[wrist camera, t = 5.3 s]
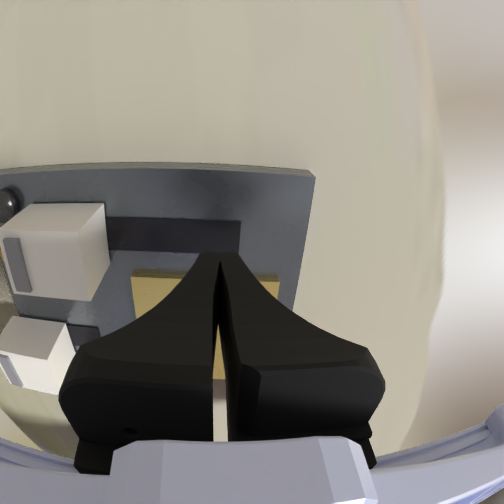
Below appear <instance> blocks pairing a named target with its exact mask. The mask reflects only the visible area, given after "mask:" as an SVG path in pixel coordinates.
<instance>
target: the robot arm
mask: <svg viewBox="0 0 504 504" xmlns="http://www.w3.org/2000/svg"><path fill="white" fill-rule="evenodd" d="M218 327H219V335H220V342H221V350H222V357H223V364H224V371H225V381H226V402H227V428H228V442H213V385H212V384H213V369H214V359H215V349H216V340H217V331H218ZM384 392H385V380H384V378H383V376H382V374H381V372H380V370H379V367H378V365H377V363H376V361H375V360H374V358H373V356H372V355H371V353H370V352H369V350H368V348H366V347H363V346H361V345H358V344H355V343H352V342H350V341H347V340H344V339H342V338H339V337H337V336H335V335H333V334H330V333H328V332H326V331H324V330H322V329H320V328H318V327H316V326H315V325H313V324H311V323H309V322H308V321H306V320H305V319H303V318H301V317H300V316H298V315H297V314H295V313H294V312H292V311H291V310H290V309H288V308H287V307H286V306H284V305H283V304H282V303H281V302H279V301H278V300H277V299H276V298H275V297H274V296H273V295H271V294H270V293H269V292H268V291H267V290H266V288H265V287H264V286H263V285H262V284H261V283H260V282H259V281H258V279H257V278H256V277H255V276H254V275H253V273H252V272H251V271H250V269H249V268H248V267H247V265H246V264H245V262H244V261H243V259H242V258H241V256H240V255H239V254H238V253H228V252H201V253H200V254H199V255H198V257H197V259H196V261H195V262H194V264H193V265H192V267H191V268H190V270H189V271H188V272H187V273H186V275H185V276H184V277H183V279H182V280H181V281H180V282H179V283H178V284H177V285H176V286H175V288H174V289H173V290H172V291H171V292H170V293H169V294H168V295H167V296H166V297H165V298H164V299H163V300H162V301H160V302H159V303H158V304H157V305H156V306H155V307H153V308H152V309H151V310H149V311H148V312H146V313H145V314H143V315H142V316H140V317H139V318H137V319H136V320H134V321H133V322H131V323H129V324H127V325H125V326H124V327H122V328H120V329H118V330H116V331H114V332H112V333H110V334H107V335H105V336H102V337H100V338H97V339H95V340H92V341H90V342H87V343H85V344H82V345H80V346H79V348H78V350H77V352H76V354H75V355H74V357H73V359H72V361H71V363H70V365H69V367H68V370H67V372H66V375H65V377H64V380H63V382H62V385H61V388H60V390H59V400H58V401H59V403H60V406H61V408H62V411H63V412H64V414H65V416H66V417H67V419H68V421H69V422H70V424H71V426H72V427H73V429H74V431H75V432H76V434H77V435H78V437H79V438H80V439H79V443H78V447H77V451H76V455H75V459H71V458H66V457H62V456H58V455H54V454H50V453H47V452H43V451H39V450H36V449H33V448H29V447H26V446H23V445H20V444H17V443H14V442H11V441H8V440H5V439H2V438H0V504H477V503H479V502H481V501H483V500H484V499H486V498H488V497H489V496H491V495H493V494H494V493H496V492H497V491H499V490H500V489H502V488H504V403H502V404H500V405H499V406H497V407H496V408H495V409H494V410H493V411H492V412H491V413H490V414H489V416H488V417H487V418H486V420H485V422H482V423H480V424H478V425H475V426H473V427H470V428H468V429H465V430H463V431H460V432H457V433H455V434H452V435H449V436H446V437H444V438H441V439H438V440H435V441H432V442H429V443H426V444H423V445H419V446H416V447H413V448H409V449H405V450H402V451H398V452H394V453H391V454H387V455H383V456H378V457H375V455H374V452H373V450H372V447H371V444H370V441H369V438H371V436H372V430H371V428H370V425H369V423H368V421H369V420H370V418H371V416H372V415H373V413H374V411H375V410H376V408H377V406H378V405H379V403H380V401H381V399H382V397H383V394H384Z"/></svg>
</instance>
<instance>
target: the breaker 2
mask: <svg viewBox="0 0 504 504" xmlns="http://www.w3.org/2000/svg"><path fill="white" fill-rule="evenodd" d="M75 354H76V353H75V350H74V347H73V345H72V342H71V339H70V336H69V332H68V329H67V326H66V323H62V322H54V321H46V320H39V319H32V318H25V317H18V316H12V317H11V319H10V320H9V321H8V323H7V324H6V326H5V327H4V329H3V331H2V332H1V334H0V366H1V368H2V370H3V372H4V374H5V375H6V377H7V379H8V381H9V382H10V384H12V385H16V386H20V387H24V388H28V389H32V390H36V391H41V392H45V393H50V394H55V395H59V390H60V388H61V385H62V382H63V380H64V377H65V375H66V372H67V370H68V367H69V365H70V363H71V361H72V359H73V357H74V355H75Z"/></svg>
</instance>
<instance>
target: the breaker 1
mask: <svg viewBox="0 0 504 504" xmlns="http://www.w3.org/2000/svg"><path fill="white" fill-rule="evenodd" d="M0 247H1V251H2V255H3V259H4V263H5V266H6V270H7V273H8V277H9V280H10V283H11V287H12V290H13V293H14V294H21V295H30V296H39V297H49V298H59V299H69V300H80V301H91V300H92V298H93V296H94V294H95V292H96V290H97V288H98V286H99V284H100V282H101V280H102V278H103V276H104V275H105V273H106V271H107V269H108V267H109V265H110V258H109V250H108V242H107V233H106V223H105V212H104V203H56V204H30V205H28V206H27V207H26V208H24V209H23V210H22V211H20V212H19V213H18V214H17V215H15V216H14V217H13V218H12V219H10V220H9V221H8V222H7V223H5V224H4V225H3V226H2V227H0Z"/></svg>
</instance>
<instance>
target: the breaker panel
mask: <svg viewBox="0 0 504 504" xmlns="http://www.w3.org/2000/svg"><path fill="white" fill-rule="evenodd" d="M315 178H316V177H315V176H314V175H313V174H312V173H311V172H310V171H308V170H298V169H287V168H275V167H261V166H246V165H229V164H206V163H169V162H120V163H84V164H63V165H47V166H33V167H21V168H10V169H1V170H0V227H2V226H3V225H4V224H5V223H7V222H8V221H9V220H10V219H12V218H13V217H14V216H15V215H17V214H18V213H19V212H20V211H22V210H23V209H24V208H26V207H27V206H28V205H30V204H56V203H104V212H105V223H106V233H107V242H108V250H109V258H110V265H109V267H108V269H107V271H106V273H105V275H104V276H103V278H102V280H101V282H100V284H99V286H98V288H97V290H96V292H95V294H94V296H93V298H92V300H91V301H80V300H69V299H59V298H49V297H39V296H30V295H21V294H14V293H13V290H12V287H11V283H10V280H9V277H8V273H7V270H6V266H5V263H4V259H3V255H2V251H1V247H0V256H1V258H2V262H3V265H4V269H5V272H6V276H7V279H8V282H9V286H10V289H11V292H12V295H13V298H14V301H15V304H16V307H17V310H18V312H19V315H20V317H25V318H32V319H39V320H46V321H54V322H62V323H66V326H67V329H68V332H69V336H70V339H71V342H72V345H73V347H74V350H75V353H76V352H77V350H78V348H79V346H80V345H82V344H85V343H87V342H90V341H92V340H95V339H97V338H100V337H102V336H105V335H107V334H110V333H112V332H114V331H116V330H118V329H120V328H122V327H124V326H125V325H127V324H129V323H131V322H133V321H134V320H136V319H137V318H139V317H140V316H142V315H143V314H145V313H146V312H148V311H149V310H151V309H152V308H153V307H155V306H156V305H157V304H158V303H159V302H160V301H162V300H163V299H164V298H165V297H166V296H167V295H168V294H169V293H170V292H171V291H172V290H173V289H174V288H175V286H176V285H177V284H178V283H179V282H180V281H181V280H182V279H183V277H184V276H185V275H186V273H187V272H188V271H189V270H190V268H191V267H192V265H193V264H194V262H195V261H196V259H197V257H198V255H199V254H200V253H201V252H228V253H238V254H239V255H240V256H241V258H242V259H243V261H244V262H245V264H246V265H247V267H248V268H249V269H250V271H251V272H252V273H253V275H254V276H255V277H256V278H257V279H258V281H259V282H260V283H261V284H262V285H263V286H264V287H265V288H266V290H267V291H268V292H269V293H270V294H271V295H273V296H274V297H275V298H276V299H277V300H278V301H279V302H281V303H282V304H283V305H284V306H286V307H287V308H288V309H290V310H291V311H292V310H293V305H294V300H295V295H296V289H297V284H298V279H299V274H300V268H301V263H302V257H303V252H304V246H305V240H306V234H307V229H308V223H309V217H310V210H311V204H312V198H313V192H314V185H315ZM213 379H225V371H224V364H223V357H222V350H221V342H220V335H219V327H218V331H217V340H216V349H215V359H214V369H213Z"/></svg>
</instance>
